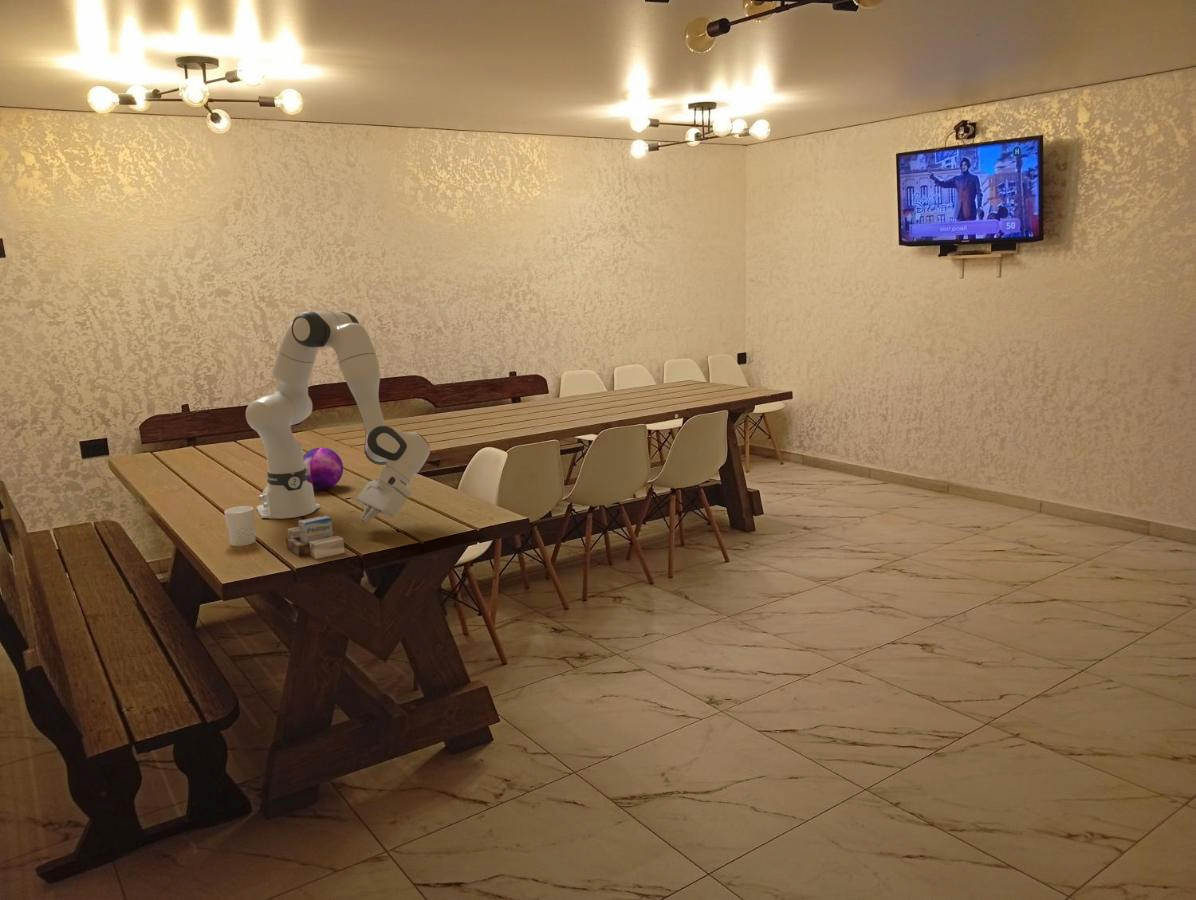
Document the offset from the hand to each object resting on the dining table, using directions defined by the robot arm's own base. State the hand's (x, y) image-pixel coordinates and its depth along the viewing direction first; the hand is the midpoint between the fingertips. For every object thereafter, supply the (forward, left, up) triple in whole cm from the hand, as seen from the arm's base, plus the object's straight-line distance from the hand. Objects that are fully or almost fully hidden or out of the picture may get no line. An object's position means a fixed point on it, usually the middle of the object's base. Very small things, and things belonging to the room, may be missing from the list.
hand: (363, 521), depth 261 cm
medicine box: (+1, -15, -5) cm, 15 cm away
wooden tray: (0, -15, -4) cm, 15 cm away
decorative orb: (-66, +13, -5) cm, 68 cm away
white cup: (-20, -29, -5) cm, 35 cm away
